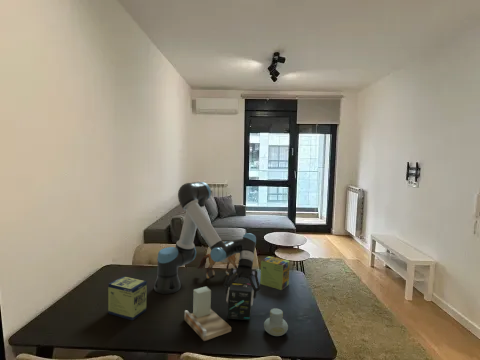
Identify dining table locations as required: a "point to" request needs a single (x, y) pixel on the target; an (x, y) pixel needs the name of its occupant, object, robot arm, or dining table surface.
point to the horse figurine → (203, 262)
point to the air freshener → (276, 323)
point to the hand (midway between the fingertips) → (239, 303)
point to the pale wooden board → (207, 325)
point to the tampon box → (239, 301)
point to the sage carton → (201, 301)
